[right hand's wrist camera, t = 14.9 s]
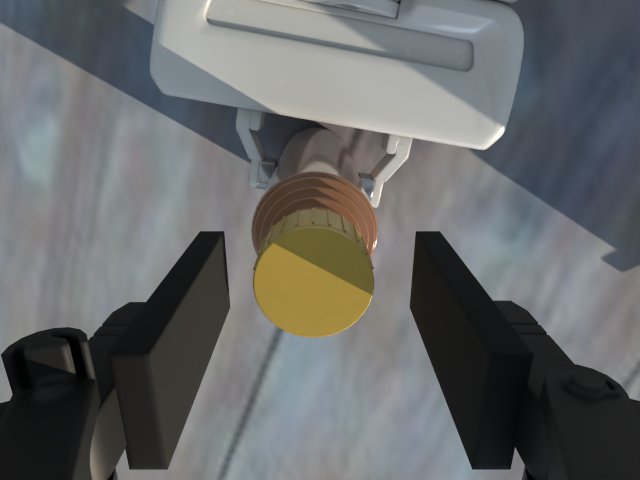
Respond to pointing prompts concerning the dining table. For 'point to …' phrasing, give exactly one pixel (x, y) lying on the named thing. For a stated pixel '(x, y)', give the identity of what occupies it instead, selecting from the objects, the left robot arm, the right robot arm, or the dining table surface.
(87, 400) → the right robot arm
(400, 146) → the left robot arm
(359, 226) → the bottle
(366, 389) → the dining table surface
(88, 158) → the dining table surface
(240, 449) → the dining table surface
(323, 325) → the cap
